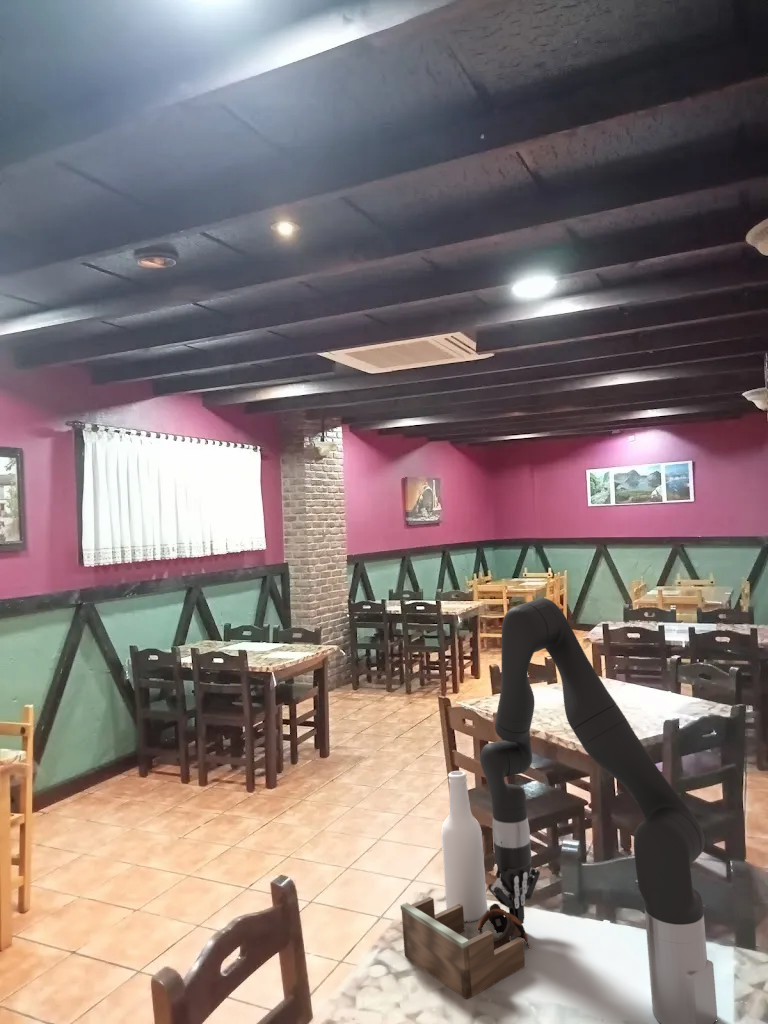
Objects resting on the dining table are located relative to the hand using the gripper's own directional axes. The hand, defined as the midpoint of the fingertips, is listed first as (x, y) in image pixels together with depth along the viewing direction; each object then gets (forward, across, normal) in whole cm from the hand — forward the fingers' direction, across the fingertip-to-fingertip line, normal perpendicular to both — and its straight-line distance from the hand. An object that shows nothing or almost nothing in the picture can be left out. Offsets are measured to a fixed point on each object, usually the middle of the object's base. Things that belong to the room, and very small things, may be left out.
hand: (517, 923), depth 151 cm
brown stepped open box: (+2, -15, -1) cm, 15 cm away
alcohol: (+2, -3, +13) cm, 13 cm away
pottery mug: (+2, -6, -2) cm, 7 cm away
